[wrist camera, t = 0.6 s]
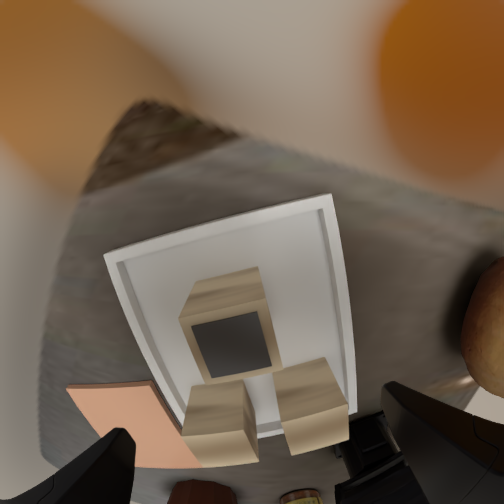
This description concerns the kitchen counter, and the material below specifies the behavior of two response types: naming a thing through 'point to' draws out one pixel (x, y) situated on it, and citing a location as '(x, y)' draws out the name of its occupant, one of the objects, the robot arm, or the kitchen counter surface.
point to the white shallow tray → (275, 287)
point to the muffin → (201, 493)
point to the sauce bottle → (302, 497)
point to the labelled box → (230, 327)
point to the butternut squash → (486, 330)
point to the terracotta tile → (136, 421)
